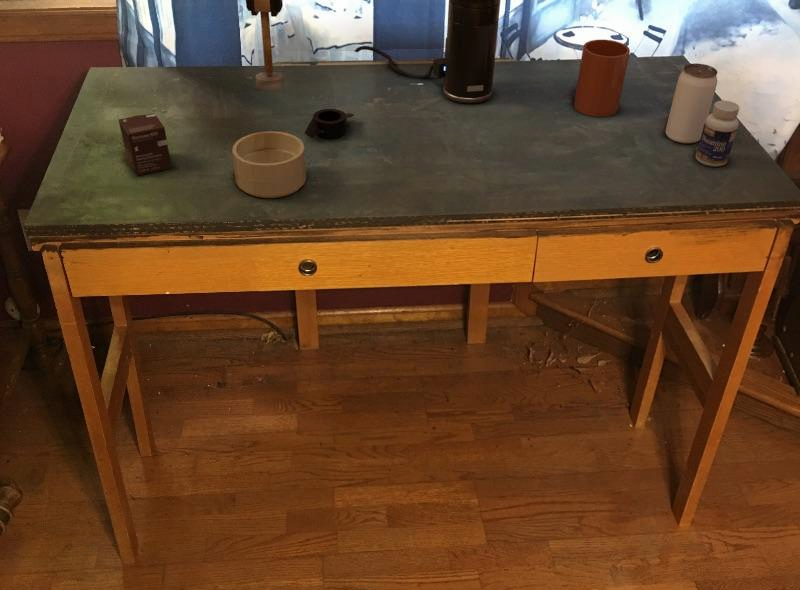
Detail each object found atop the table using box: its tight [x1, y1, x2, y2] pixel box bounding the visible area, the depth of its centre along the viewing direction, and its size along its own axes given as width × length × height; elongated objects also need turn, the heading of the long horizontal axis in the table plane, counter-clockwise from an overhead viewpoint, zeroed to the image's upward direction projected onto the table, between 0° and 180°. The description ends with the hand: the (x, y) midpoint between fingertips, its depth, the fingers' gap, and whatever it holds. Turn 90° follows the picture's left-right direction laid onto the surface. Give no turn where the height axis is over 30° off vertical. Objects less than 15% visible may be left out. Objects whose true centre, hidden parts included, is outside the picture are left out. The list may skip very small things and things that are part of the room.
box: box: [118, 112, 172, 176], centre depth 140 cm, size 6×6×7 cm
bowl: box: [231, 130, 307, 199], centre depth 137 cm, size 11×11×6 cm
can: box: [664, 63, 718, 145], centre depth 149 cm, size 6×6×12 cm
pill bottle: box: [695, 100, 740, 168], centre depth 144 cm, size 5×5×10 cm
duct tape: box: [304, 108, 355, 140], centre depth 151 cm, size 8×10×3 cm
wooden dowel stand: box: [254, 0, 284, 91], centre depth 123 cm, size 4×4×15 cm
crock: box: [573, 39, 631, 117], centre depth 158 cm, size 8×8×11 cm
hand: (265, 13), depth 121 cm, fingers closed on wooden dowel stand, 2 cm apart
